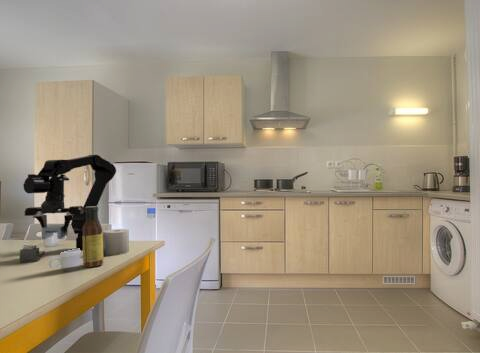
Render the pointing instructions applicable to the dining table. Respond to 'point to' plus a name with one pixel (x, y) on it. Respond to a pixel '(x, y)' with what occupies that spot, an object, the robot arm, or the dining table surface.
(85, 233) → the sauce bottle
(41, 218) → the robot arm
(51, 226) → the block
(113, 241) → the toilet tissue
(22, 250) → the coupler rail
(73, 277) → the dining table surface
